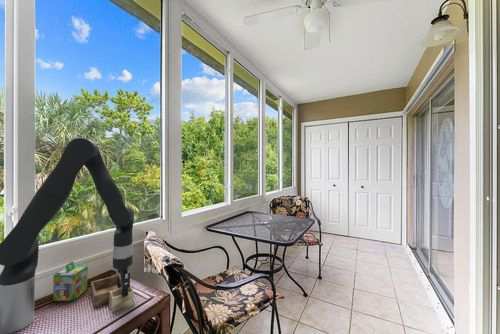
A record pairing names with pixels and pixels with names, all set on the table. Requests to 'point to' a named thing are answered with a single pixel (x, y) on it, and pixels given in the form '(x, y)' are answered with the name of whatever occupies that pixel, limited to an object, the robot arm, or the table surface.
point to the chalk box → (70, 283)
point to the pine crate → (120, 299)
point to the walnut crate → (103, 290)
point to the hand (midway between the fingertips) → (122, 291)
